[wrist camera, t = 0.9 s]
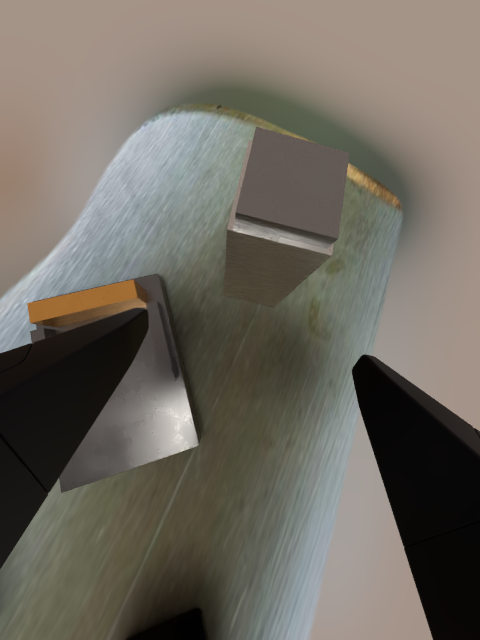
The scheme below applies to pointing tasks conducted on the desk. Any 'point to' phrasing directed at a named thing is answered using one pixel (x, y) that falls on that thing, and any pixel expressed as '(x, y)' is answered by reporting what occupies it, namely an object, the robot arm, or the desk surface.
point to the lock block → (282, 216)
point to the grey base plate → (127, 382)
